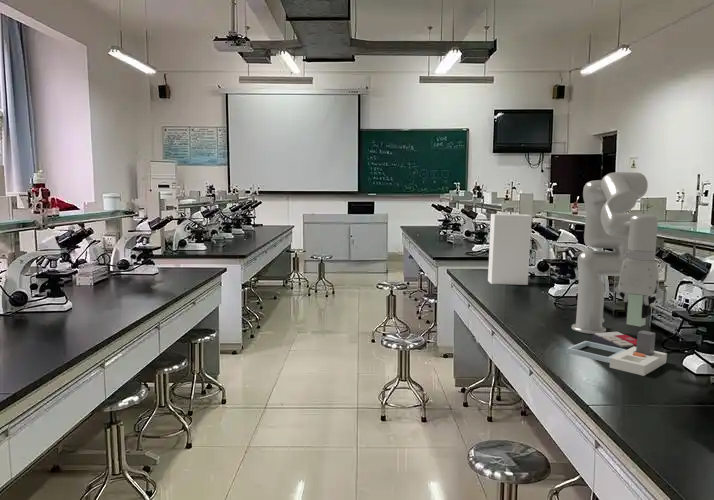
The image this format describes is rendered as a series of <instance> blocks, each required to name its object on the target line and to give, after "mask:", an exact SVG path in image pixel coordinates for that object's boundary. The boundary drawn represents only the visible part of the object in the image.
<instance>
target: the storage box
mask: <svg viewBox="0 0 714 500" xmlns="http://www.w3.org/2000/svg"><path fill="white" fill-rule="evenodd" d="M532 218H533V216H532V215H531V214H521V213H520V214H513V213H512V214H511V213H506V214H505V213H490V227H489V229H490V230H489V231H490V232H489V247H488V248H489V249H488V271H487V273H488V274H487V282H489V284H491V285H517V286H519V285H520V286H524V285H525V286H528V285H529V272H530V271H529V270H530V255H531V253H530V252H531V251H530V250H531V235H532V233H531V232H532Z"/></svg>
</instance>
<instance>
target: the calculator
mask: <svg viewBox="0 0 714 500" xmlns="http://www.w3.org/2000/svg"><path fill="white" fill-rule="evenodd" d="M591 342H594V343H598V344H603V345H607V346H612V347H616V348H621V349H625V350H628V349H630V348H632V347H636V346H637V338H635V337H632V336H629V335H627V334H624V333H621V332H619V331H610V332H609V331H606V332H605V333H595V334H592V340H591Z"/></svg>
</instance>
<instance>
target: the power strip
mask: <svg viewBox="0 0 714 500" xmlns="http://www.w3.org/2000/svg"><path fill="white" fill-rule="evenodd" d="M667 356H668V353H667V352H666V353H665V352H661V351H658V350H657V351H656V350H654V355H652V356H648V355H645V354H642V353H637V352H636V347H632V348H630V349H628V350H626V351H624V352H621V353H619V354H617V355H615V356H613V357H611V358H610V363H609V368H611V369H614V370H618V371H622V372H626V373H631V374H634V375H639V376H643V377H644V376H646V375H647V374H649V373H651V372H653V371H655V370H656V369H658V368H659V367H661V366H663V365H665V364H666V363H667Z"/></svg>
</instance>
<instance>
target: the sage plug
mask: <svg viewBox="0 0 714 500" xmlns="http://www.w3.org/2000/svg"><path fill="white" fill-rule="evenodd" d="M643 305H644V296H643V295H639V294H632V293H629V295H628V309H627V315H626V325H630V326H636V327H644V326H646V319H647V317H646V318H642V306H643Z"/></svg>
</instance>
